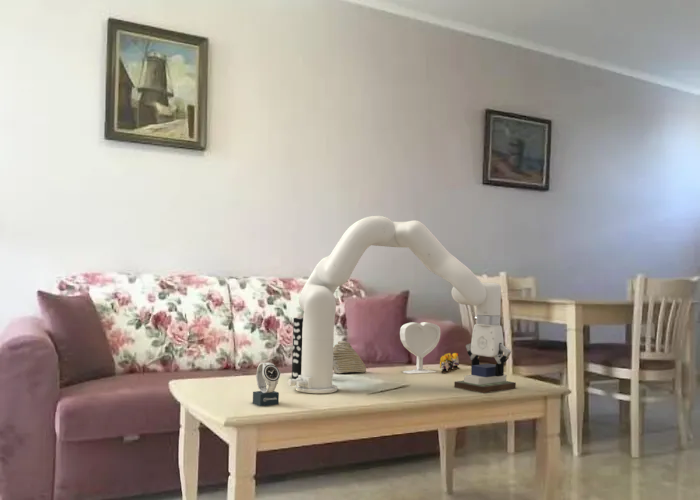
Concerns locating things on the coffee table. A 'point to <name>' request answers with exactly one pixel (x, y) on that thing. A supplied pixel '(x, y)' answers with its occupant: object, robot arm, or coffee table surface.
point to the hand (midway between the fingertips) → (487, 373)
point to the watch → (271, 377)
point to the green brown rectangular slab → (485, 386)
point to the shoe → (483, 374)
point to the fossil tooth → (346, 359)
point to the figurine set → (449, 362)
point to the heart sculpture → (419, 341)
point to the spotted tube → (297, 347)
